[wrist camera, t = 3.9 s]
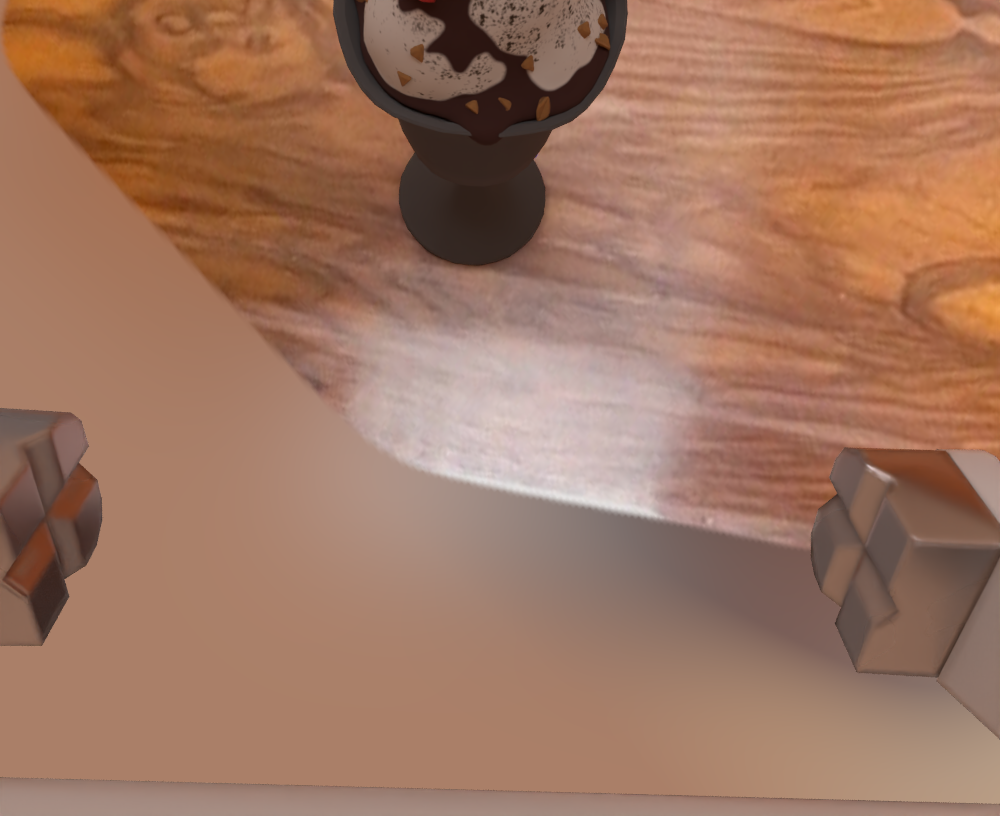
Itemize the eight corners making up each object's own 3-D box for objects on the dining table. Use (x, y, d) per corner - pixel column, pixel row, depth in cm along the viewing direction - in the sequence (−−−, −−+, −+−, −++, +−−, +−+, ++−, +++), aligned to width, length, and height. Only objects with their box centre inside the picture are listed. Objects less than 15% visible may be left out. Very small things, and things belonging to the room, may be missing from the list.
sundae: (365, 285, 29) (272, -25, 14) (383, 99, 30) (315, -362, 15) (564, 299, 29) (678, 10, 14) (573, 115, 30) (686, -323, 16)
